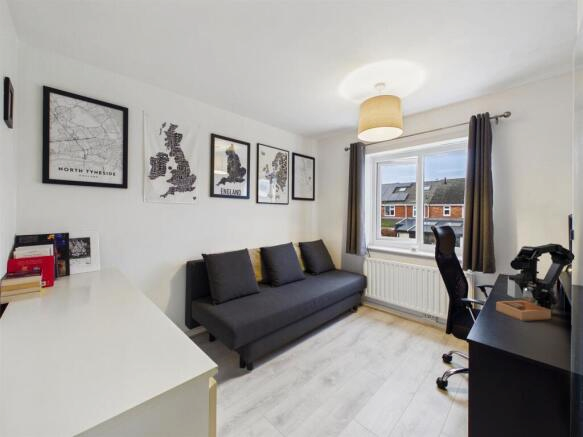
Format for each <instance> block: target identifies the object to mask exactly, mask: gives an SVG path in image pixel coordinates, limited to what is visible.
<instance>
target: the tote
mask: <svg viewBox="0 0 583 437" xmlns="http://www.w3.org/2000/svg"><path fill="white" fill-rule="evenodd" d="M508 303H518V304H520V305H523V306H525V311H521V310H518V309H516V308H513V307H510V306H508ZM495 310H496V311H497V312H500V313H502V314H504V315H507V316H509V317H511V318H513V319H516V320H518V321H521V322H526V321H541V320H551V319H552V314H551V310H550V309H547V308H544V307H541V306H538V305H535V304H532V303H529V302H526V301H524V300H506V301H496V306H495Z"/></svg>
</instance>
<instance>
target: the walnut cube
mask: <svg viewBox="0 0 583 437" xmlns="http://www.w3.org/2000/svg"><path fill="white" fill-rule="evenodd" d="M508 306H510V307H513V308H516V309H518V310H521V311H525V306H523V305H520V304H518V303H508Z"/></svg>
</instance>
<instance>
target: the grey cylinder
mask: <svg viewBox="0 0 583 437" xmlns="http://www.w3.org/2000/svg"><path fill="white" fill-rule="evenodd" d="M522 301H526V302H532V303H534V302H535V298H533V288H528V287H523V299H522Z"/></svg>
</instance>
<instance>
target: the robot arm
mask: <svg viewBox="0 0 583 437" xmlns="http://www.w3.org/2000/svg"><path fill="white" fill-rule="evenodd" d="M544 254H549V255H550V259H551V262H552V263H551V265H550V266H549V268H548V270H547V272H546V274H545V276H544V278H542V279H543V281H542V282H537V281H539V279H537V278H538V274H540V271H538V262H540V257H542V255H544ZM574 257H576V256H575V254H574V253H573V252H572V251H571V250H570V249H568V248H566V247H564V246H563V245H562V244H560V243H552V242H551V243H548V244H543V245H537V246H528V245H524V246H522V247H521V248H520V250H519V251H518V253H517V255H516V256H515V257H514V259H512V260H511V261H510V263H509V265H510V267H511V269H513V270H515V271H519V273H516V274H510V275H508V277H509V280H512V281H514V282H515V283H517V284H518V285H519V287H520V289H521V292H522V294H523V287H527V284H528V283H531V284H535V285H534V286H531V287H532V288H533V298H535V300H537V305H538V306H541V307H544V308H547V309H550V310H551V315H556V312H553V306H554V305H555V306H556V305H558V301H559V300H558V299H557V297H556V296H555V294H556V292H555V290H554V286H555V285H556V284H557V281H558V280H559V277H560V276H561V274H562V272H563V270H564V268H565V267H567V266H568V265H571V263H572V262H573V261H574V260H575V258H574Z"/></svg>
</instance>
